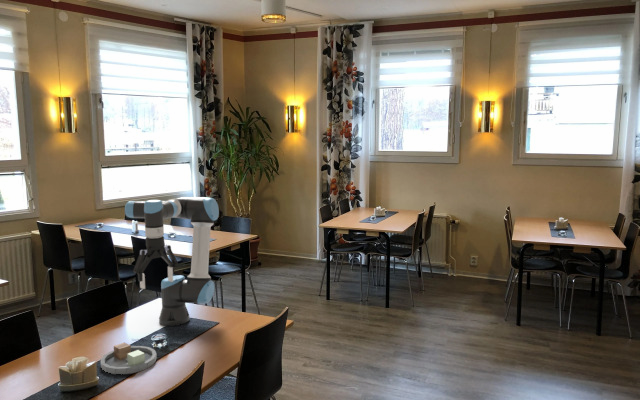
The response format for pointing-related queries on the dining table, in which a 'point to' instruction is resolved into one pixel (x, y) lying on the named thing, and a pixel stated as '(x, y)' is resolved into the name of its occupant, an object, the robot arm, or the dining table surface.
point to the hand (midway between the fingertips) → (157, 284)
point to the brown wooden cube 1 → (121, 350)
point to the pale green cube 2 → (135, 358)
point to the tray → (121, 366)
